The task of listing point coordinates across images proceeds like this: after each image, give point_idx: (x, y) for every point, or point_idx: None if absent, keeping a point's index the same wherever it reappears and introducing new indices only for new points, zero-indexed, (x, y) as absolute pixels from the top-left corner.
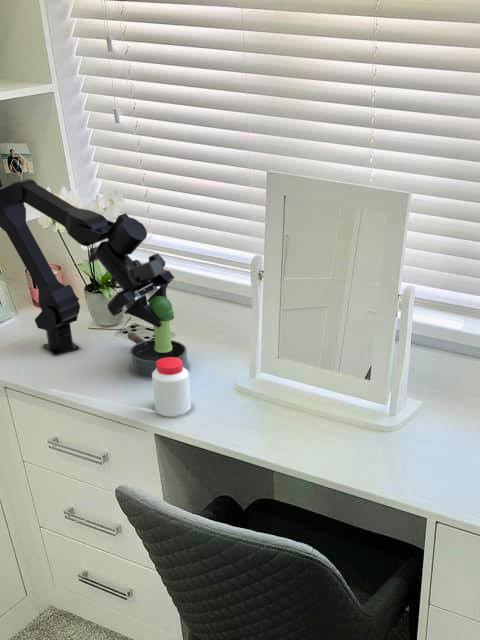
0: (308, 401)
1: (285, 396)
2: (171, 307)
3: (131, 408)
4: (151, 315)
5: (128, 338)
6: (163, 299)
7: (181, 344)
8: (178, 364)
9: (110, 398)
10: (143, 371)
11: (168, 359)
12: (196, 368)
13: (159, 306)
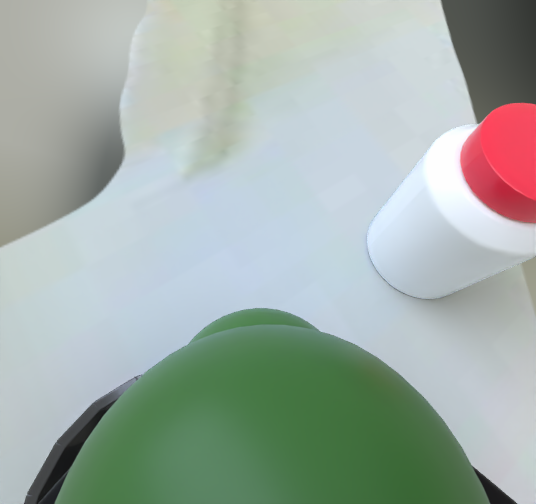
0: (187, 12)
1: (189, 55)
2: (211, 335)
3: (504, 356)
4: (491, 494)
5: None
6: (319, 454)
7: (51, 464)
8: (525, 111)
9: (514, 478)
10: None
11: (525, 171)
12: (131, 352)
13: (441, 427)
